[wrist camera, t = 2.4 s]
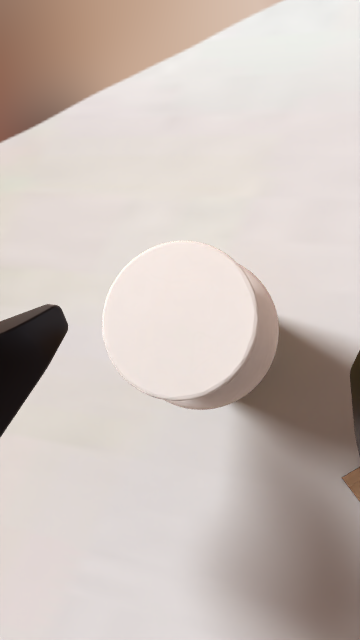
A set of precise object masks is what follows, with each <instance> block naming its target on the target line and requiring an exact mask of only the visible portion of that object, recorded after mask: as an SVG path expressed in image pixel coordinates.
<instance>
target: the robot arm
mask: <svg viewBox="0 0 360 640" xmlns="http://www.w3.org/2000/svg"><path fill="white" fill-rule="evenodd" d="M67 331H68V323H67V321H66V318H65V316H64V314H63V311H62V309H61V308H60V307H59V306H57V305H51V304H46V305H43V306H41V307H38V308H35V309H33V310H30V311H27V312H25V313H22V314H19V315H16V316H14V317H11V318H8V319H6V320H3V321H0V437H1V436H2V434H3V433H4V431H5V430H6V428H7V427H8V425H9V424H10V422H11V421H12V419H13V418H14V417H15V415H16V414H17V412H18V411H19V409H20V408H21V406H22V405H23V403H24V402H25V400H26V399H27V397H28V396H29V394H30V393H31V391H32V390H33V388H34V387H35V385H36V384H37V382H38V381H39V379H40V378H41V377H42V375H43V374H44V372H45V370H46V369H47V367H48V366H49V364H50V362H51V360H52V358H53V357H54V355H55V353H56V351H57V349H58V347H59V346H60V344H61V342H62V340H63V338H64V336H65V335H66V333H67ZM350 382H351V394H352V406H353V418H354V429H355V436H356V441H357V446H358V451H359V455H360V351H359V353H358V355H357V357H356V359H355V361H354V363H353V365H352V367H351V371H350Z"/></svg>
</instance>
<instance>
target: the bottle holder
mask: <svg viewBox="0 0 360 640" xmlns="http://www.w3.org/2000/svg"><path fill="white" fill-rule="evenodd" d="M342 479H343V480H344V481H345V483H346V484H347V485H348V487H349V488H350V489H351V491H352V492H353V493H354V495H355V496H356V497H357V499H358V500H359V501H360V467H359V468H357V469H356V470H354V471H352V472H351V473H349V474H347V475H346V476H344V477H342Z"/></svg>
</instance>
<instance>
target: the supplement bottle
mask: <svg viewBox="0 0 360 640" xmlns="http://www.w3.org/2000/svg"><path fill="white" fill-rule="evenodd" d="M102 332H103V339H104V343H105V347H106V350H107V353H108V355H109V357H110V360H111V361H112V363H113V365H114V367H115V368H116V370H117V371H118V372H119V374H120V375H121V376H122V377H123V378H124V379H125V380H126V381H127V382H128V383H130V384H131V385H132V386H134V387H135V388H136V389H138V390H139V391H141V392H143V393H145V394H147V395H150V396H152V397H155V398H159V399H163V400H165V401H167V402H169V403H171V404H174V405H177V406H180V407H184V408H188V409H197V410H204V409H213V408H218V407H222V406H225V405H228V404H230V403H233V402H235V401H237V400H239V399H241V398H242V397H244V396H245V395H247V394H248V393H249V392H250V391H252V390H253V389H254V388H255V387H256V386H257V385H258V384H259V383H260V381H261V380H262V379H263V378H264V376H265V375H266V373H267V372H268V370H269V368H270V366H271V364H272V362H273V359H274V357H275V354H276V350H277V345H278V338H279V324H278V317H277V312H276V309H275V305H274V303H273V301H272V298H271V296H270V294H269V293H268V291H267V290H266V288H265V287H264V285H263V284H262V283H261V281H260V280H259V279H258V278H257V277H256V276H255V275H254V274H253V273H251V272H250V271H249V270H247V269H246V268H244V267H243V266H241V265H240V264H238V263H236V262H235V261H234V260H233V259H232V258H231V257H230V256H228V255H227V254H226V253H224V252H222V251H221V250H219V249H217V248H215V247H213V246H210V245H207V244H204V243H199V242H194V241H173V242H168V243H163V244H160V245H157V246H155V247H152V248H150V249H148V250H146V251H144V252H143V253H141V254H140V255H138V256H137V257H135V258H134V259H133V260H131V261H130V262H129V263H128V264H127V265H126V266H125V267H124V268H123V269H122V271H121V272H120V273H119V274H118V276H117V277H116V279H115V281H114V282H113V284H112V286H111V288H110V290H109V292H108V295H107V298H106V301H105V304H104V309H103V317H102Z"/></svg>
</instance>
